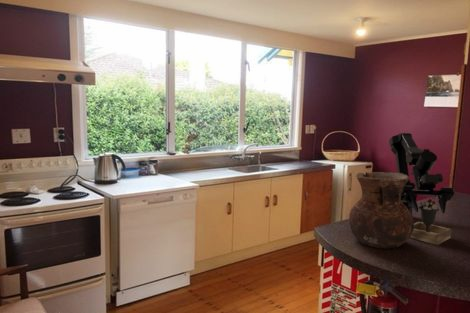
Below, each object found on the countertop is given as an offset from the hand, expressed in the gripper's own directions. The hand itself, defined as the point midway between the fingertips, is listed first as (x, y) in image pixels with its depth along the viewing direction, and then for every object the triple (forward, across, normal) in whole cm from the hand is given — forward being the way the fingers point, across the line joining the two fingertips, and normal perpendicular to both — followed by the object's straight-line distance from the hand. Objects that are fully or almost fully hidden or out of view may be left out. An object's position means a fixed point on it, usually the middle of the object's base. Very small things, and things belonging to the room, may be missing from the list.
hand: (430, 212), depth 136 cm
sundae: (+5, 0, +8) cm, 9 cm away
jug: (+13, -20, +2) cm, 24 cm away
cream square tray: (+6, 0, +8) cm, 10 cm away
